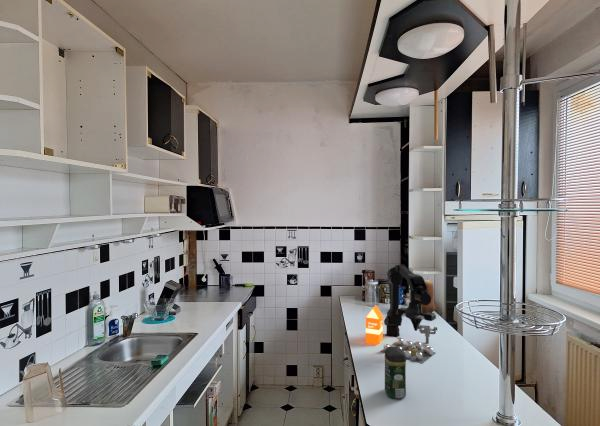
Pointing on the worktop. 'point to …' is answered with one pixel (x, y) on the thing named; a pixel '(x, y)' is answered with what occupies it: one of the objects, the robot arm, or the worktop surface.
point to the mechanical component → (427, 331)
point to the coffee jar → (395, 373)
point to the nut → (413, 350)
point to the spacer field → (426, 348)
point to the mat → (413, 357)
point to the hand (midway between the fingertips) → (415, 330)
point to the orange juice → (374, 326)
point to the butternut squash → (430, 291)
